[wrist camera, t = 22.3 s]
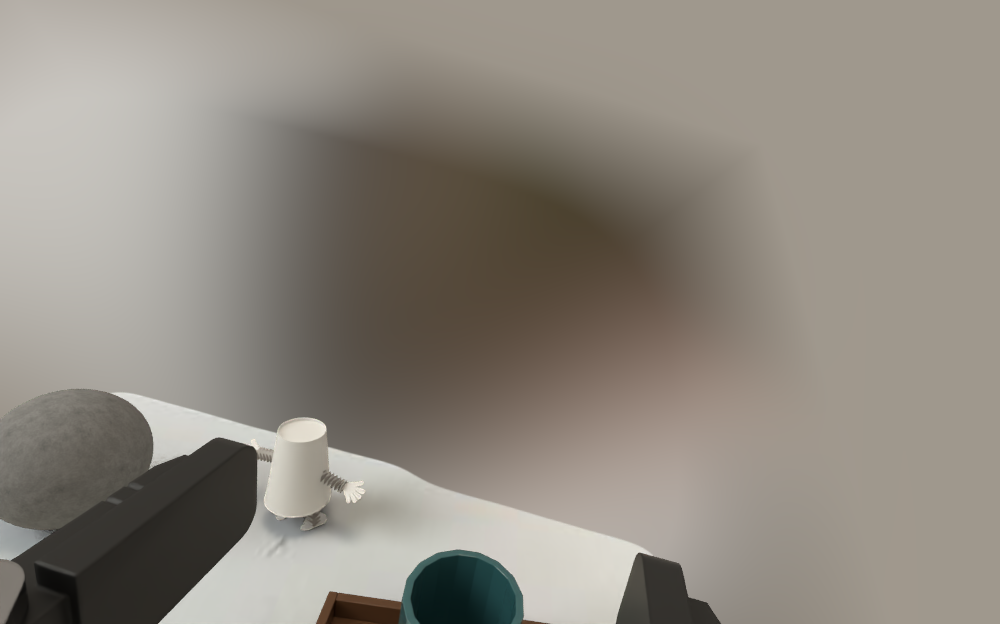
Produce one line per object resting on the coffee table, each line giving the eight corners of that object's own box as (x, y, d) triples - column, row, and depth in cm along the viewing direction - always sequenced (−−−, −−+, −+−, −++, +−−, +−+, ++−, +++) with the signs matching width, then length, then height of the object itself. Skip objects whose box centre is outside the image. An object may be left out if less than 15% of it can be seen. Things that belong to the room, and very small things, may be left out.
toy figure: (378, 520, 42) (388, 435, 40) (338, 566, 37) (347, 472, 34) (266, 474, 45) (269, 392, 43) (214, 511, 40) (214, 420, 38)
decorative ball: (79, 460, 43) (69, 357, 40) (184, 486, 42) (182, 383, 39) (-60, 543, 33) (-86, 415, 30) (73, 578, 33) (58, 450, 30)
